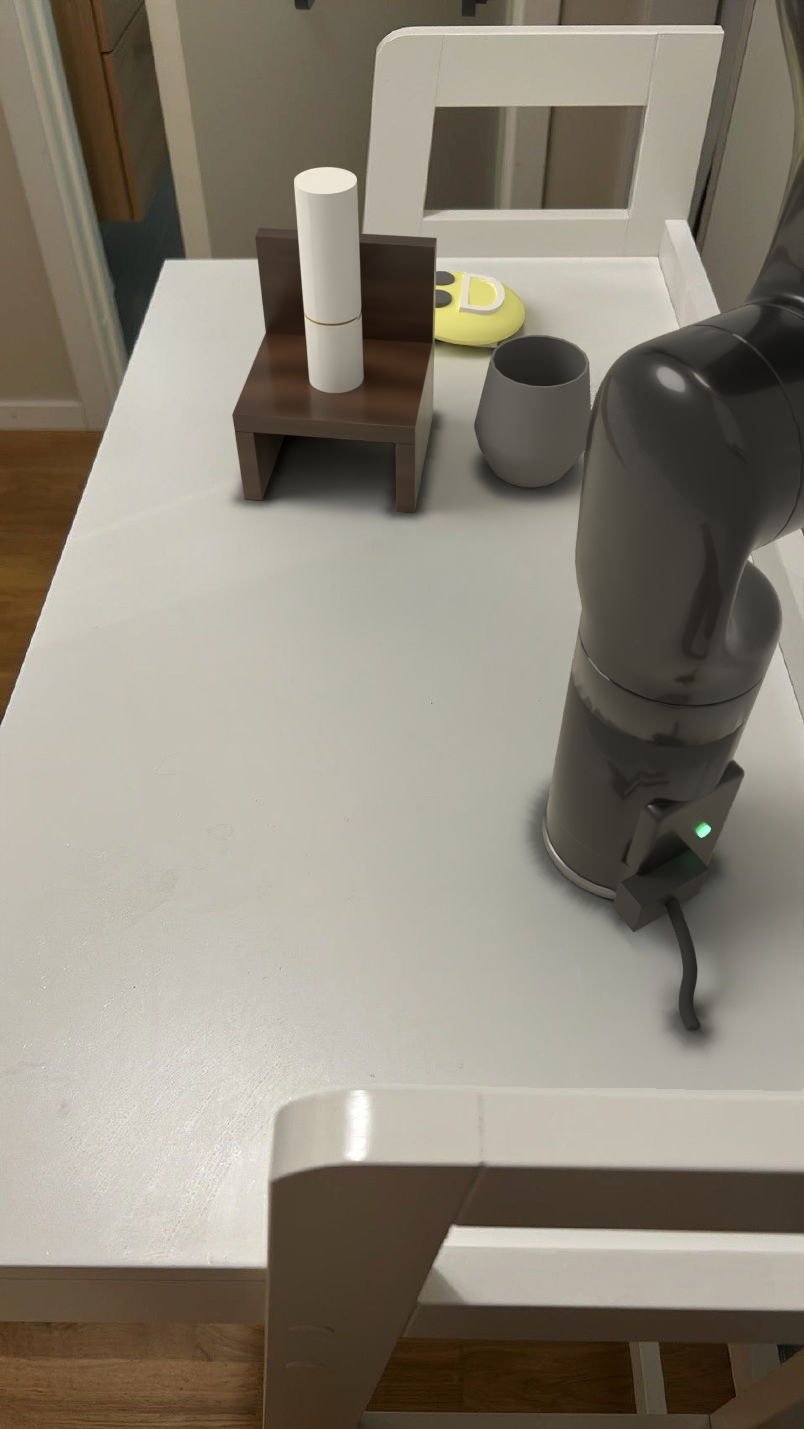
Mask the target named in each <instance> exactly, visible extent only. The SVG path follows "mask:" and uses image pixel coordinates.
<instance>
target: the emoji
mask: <svg viewBox="0 0 804 1429" xmlns="http://www.w3.org/2000/svg"><path fill="white" fill-rule="evenodd" d="M525 319H526V307H525V305H524V302H523V300H522V299H521V297H520V296H519V295H518V294H517V293H516V292H515V291H514V289H511V287H509V286H508V285H507V284H504V283H503V282H501V281H499V280H498V279H496V278H494V277H491V276H488V275H484V274H479V273H473V272H466V271H445V270H436V298H435V340H439V341H441V342H444V343H445V342H446V343H450V344H454V345H461V346H463V345H464V346H468V347H476V348H488V349H489V348H491V349H495V348H496V347H498V343H499V342H501V341H503V340H505V339H507V338H510V337H511V336H513V335H514V334H515V333H517V332H518V331H519V329H521V327H522V325H523V324H524V322H525Z"/></svg>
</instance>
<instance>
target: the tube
mask: <svg viewBox="0 0 804 1429" xmlns="http://www.w3.org/2000/svg"><path fill="white" fill-rule="evenodd" d="M293 185H294V186H293V187H294V201H295V214H296V226H297V230H298V240H299V253H300V266H301V279H302V292H303V304H304V317H305V330H306V343H307V356H308V369H309V380H310V383H311V385H312V386H313V387H315V388H316V389H318V390H320V391H323V392H328V393H343V392H348V391H351V390H353V389H355V388H357V387H358V386H360V384H361V383H362V382H363V378H364V374H363V344H362V314H361V283H360V253H359V233H360V228H359V226H360V225H359V199H358V197H359V196H358V178H357V176H356V174H354V173H353V172H351V171H350V170H347V169H345V168H340V167H334V166H323V167H321V166H320V167H314V168H310V169H306V170H304V171H302V172H300V173H298V174H297V175H296V176H295V177H294V179H293Z"/></svg>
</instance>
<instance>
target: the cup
mask: <svg viewBox="0 0 804 1429" xmlns="http://www.w3.org/2000/svg"><path fill="white" fill-rule="evenodd" d="M590 372H591V370H590V361H589V358H588V355H587V353H586V352H585V351H584V350H583V349H582V348H581V347H580V346H578V345H577V344H575V343H573V342H572V341H569V340H567V339H565V338H562V337H557V336H552V335H547V334H527V335H519V336H515V337H512V338H509V339H507V340H504V341H502V342H501V343H499V345H497V347H496V348H493V351H492V353H491V356H490V359H489V362H488V367H487V371H486V375H485V379H484V383H483V387H482V390H481V395H480V398H479V402H478V406H477V410H476V415H475V419H474V424H473V427H474V433H475V437H476V441H477V445H478V447H479V449H480V451H481V453H482V454H483V456H484V458H485V460H486V463H487V464H488V466H489V467H490V469H491V470H492V472H493V473H494V474H495V475H496V476H497V477H498V478H499V479H501V480H503V481H504V482H506V483H508V484H510V485H514V486H517V487H521V488H534V489H536V488H541V487H546V486H549V485H552V484H553V483H556V482H558V481H559V480H560V479H562V477H564V475H566V473H567V472H568V471H569V470H570V469H571V468H572V466H574V464H575V463H576V462H577V461H578V459H579V458H580V457H581V456H582V455H583V454H584V451H585V443H586V434H587V429H588V423H589V418H590V413H591V410H592V401H591V400H592V399H591V375H590V374H591V373H590Z"/></svg>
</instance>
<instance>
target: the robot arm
mask: <svg viewBox="0 0 804 1429" xmlns="http://www.w3.org/2000/svg"><path fill="white" fill-rule="evenodd" d="M315 1H316V0H294V8H295V10H296V11H297V10H299V11H300V10H302V11H310V10H311V9H312V7H313V5H314V4H315ZM772 1H773V5H774V10H775V16H776V21H777V26H778V30H779V35H780V39H781V44H782V49H783V53H784V58H785V62H786V68H787V73H788V78H789V84H790V90H791V98H792V105H793V138H792V139H793V140H792V150H791V158H790V164H789V170H788V174H787V179H786V184H785V188H784V192H783V195H782V199H781V204H780V207H779V211H778V213H777V218H776V220H775V224H774V228H773V231H772V234H771V237H770V240H769V244H768V246H767V248H766V252H765V254H764V258H763V260H762V263H761V265H760V267H759V270H758V272H757V275H756V277H755V280H754V282H753V284H752V285H751V286H752V287H751V288H750V290H749V292H748V294H747V296H746V297H745V298H744V300H743V301H742V303H741V304H740V305H739V306H737V307H734V308H732V309H729V310H726V311H724V312H720V313H718V314H716V315H715V314H714V315H713V316H710V317H707V318H705V319H702V320H699V321H696V322H693V323H691V324H688V325H685V326H681V327H680V328H677V329H674V330H671V331H669V332H666V333H663V334H661V335H658V336H655V337H653V338H651V339H648V340H646V341H643V342H641V343H639V344H637V345H635V346H633V347H630V348H629V349H627V350H626V351H625V352H623V353H622V354H621V355H620V356H619V357H618V358H617V359H615V361H614V362H612V365H611V366H610V367H609V369H608V370H607V371H606V373H605V375H604V376H603V379H602V380H601V382H600V385H599V386H598V389H597V392H596V394H595V396H594V400H593V404H592V405H591V413H590V418H589V423H588V429H587V434H586V443H585V451H584V452H583V461H582V473H581V483H580V484H581V486H580V497H579V507H578V517H577V526H576V527H577V528H576V529H577V530H576V536H575V538H576V539H575V546H574V547H575V548H574V554H575V555H574V564H575V567H574V568H575V577H576V582H577V583H576V584H577V589H578V594H579V599H580V605H581V610H580V617H579V622H578V628H577V633H576V634H577V635H576V641H575V646H574V652H573V657H572V662H571V666H570V667H571V668H570V672H569V678H568V685H567V691H566V695H565V700H564V707H563V712H562V718H561V723H560V730H559V735H558V741H557V746H556V751H555V752H556V753H555V757H554V764H553V768H552V774H551V779H550V780H551V781H550V788H549V794H548V799H547V801H546V803H545V808H544V812H543V818H542V823H541V824H542V828H541V830H542V840H543V842H544V846H545V849H546V851H547V854H548V855H549V858H550V859H551V861H552V862H553V864H554V865H555V866H556V868H557V869H558V870H559V871H560V872H561V873H562V874H563V875H564V876H565V877H566V879H568V880H569V881H571V882H572V883H574V884H575V885H577V886H578V887H580V888H581V889H582V890H585V891H587V892H589V893H591V894H594V895H597V896H599V897H602V898H605V899H610V900H613V903H612V906H611V907H612V909H613V910H614V911H615V912H616V914H617V915H618V916H619V917H620V918H621V920H622V921H623V922H624V923H625V924H626V925H627V927H628V928H629V929H630V930H631V932H632V933H636V932H637V931H639V930H641V929H642V928H644V927H646V926H648V925H649V924H650V923H651V924H652V923H653V922H654V921H656V920H657V919H659V918H661V917H662V916H665V915H666V914H667V915H668V916H669V920H670V923H671V925H672V928H673V932H674V935H675V937H676V939H677V944H678V947H679V951H680V957H681V964H682V977H681V982H680V988H679V992H678V993H679V994H678V1007H679V1013H680V1016H681V1019H682V1021H683V1024H684V1026H685V1028H686V1031H687V1032H695V1031H697V1030H699V1029H701V1027H702V1025H701V1023H700V1020H699V1018H698V1016H697V1014H696V1011H695V1005H694V997H695V991H696V987H697V981H698V961H697V954H696V949H695V945H694V941H693V938H692V935H691V932H690V929H689V926H688V923H687V921H686V917H685V914H684V912H683V910H682V904H684V903H686V902H688V901H689V900H690V899H693V898H694V897H696V896H698V895H700V893H701V891H702V888H703V886H704V884H705V881H706V878H707V876H708V873H709V871H710V867H709V863H710V861H711V858H712V856H713V854H714V852H715V849H716V846H717V844H718V842H719V839H720V837H721V834H722V831H723V829H724V827H725V825H726V822H727V820H728V817H729V814H730V812H731V809H732V807H733V804H734V802H735V800H736V797H737V795H738V793H739V790H740V788H741V785H742V782H743V780H744V778H745V775H746V774H745V770H744V768H743V767H742V766H741V765H740V764H739V763H738V762H737V761H736V760H735V759H734V757H735V755H736V753H737V751H738V750H737V749H738V747H739V744H740V741H741V739H742V737H743V734H744V732H745V728H746V727H747V724H748V721H749V718H750V716H751V713H752V710H753V708H754V706H755V703H756V701H757V698H758V695H759V694H760V690H761V687H762V685H763V682H764V680H765V678H766V675H767V672H768V669H769V667H770V665H771V662H772V659H773V657H774V655H775V652H776V649H777V646H778V644H779V641H780V637H781V634H782V631H783V630H782V629H783V608H782V603H781V600H780V597H779V594H778V593H777V590H776V588H775V586H774V585H773V583H772V582H771V581H770V579H769V578H768V576H766V574H765V573H764V572H763V571H762V570H761V569H760V568H759V567H758V566H757V565H756V564H754V563H753V562H752V561H750V560H749V558H750V556H751V554H752V553H753V552H754V551H757V550H759V549H760V548H762V547H764V546H767V545H769V544H771V543H773V542H775V541H777V540H780V539H781V538H784V537H786V536H788V535H791V534H792V533H794V532H796V531H798V530H800V529H803V528H804V0H772ZM487 3H488V0H461V17H462V18H476V17H477V14H478V10H479V9H478V8H479V5H487Z"/></svg>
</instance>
